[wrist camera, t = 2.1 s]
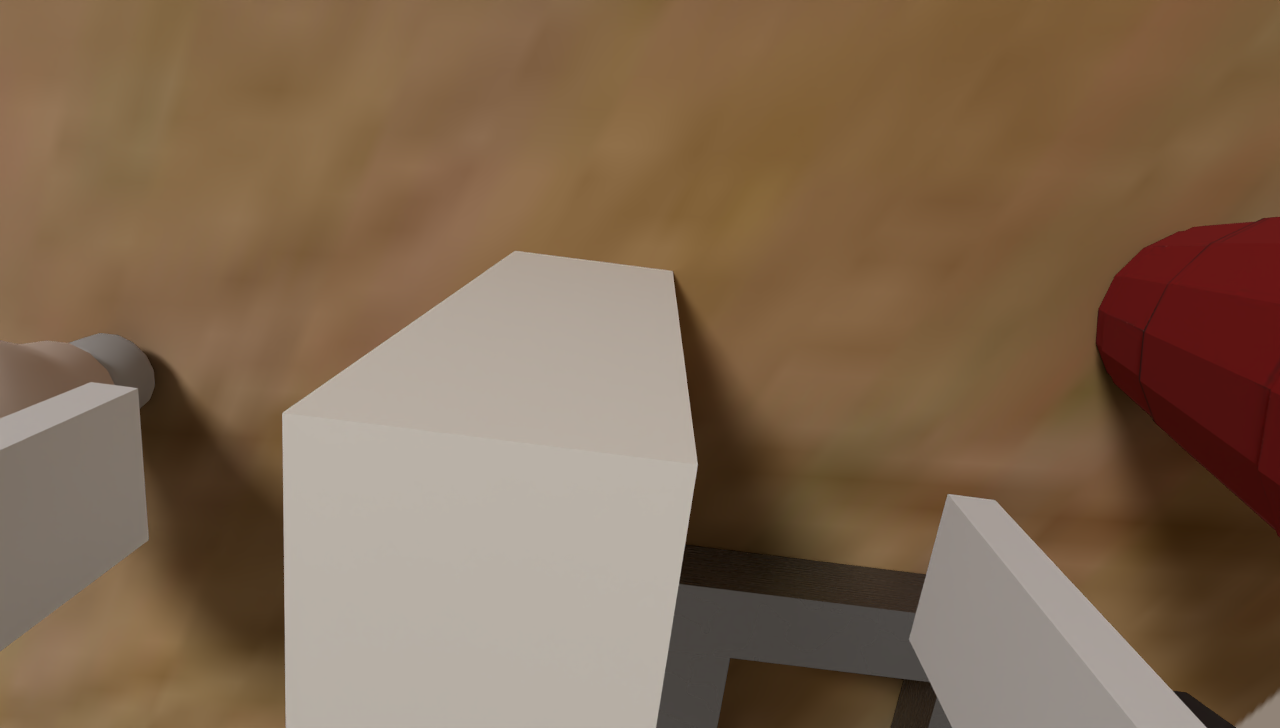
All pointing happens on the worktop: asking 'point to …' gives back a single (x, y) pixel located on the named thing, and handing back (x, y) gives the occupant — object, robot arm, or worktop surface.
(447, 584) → the square post
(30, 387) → the light bulb
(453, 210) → the worktop surface
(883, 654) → the rail plate
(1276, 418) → the plastic cup
